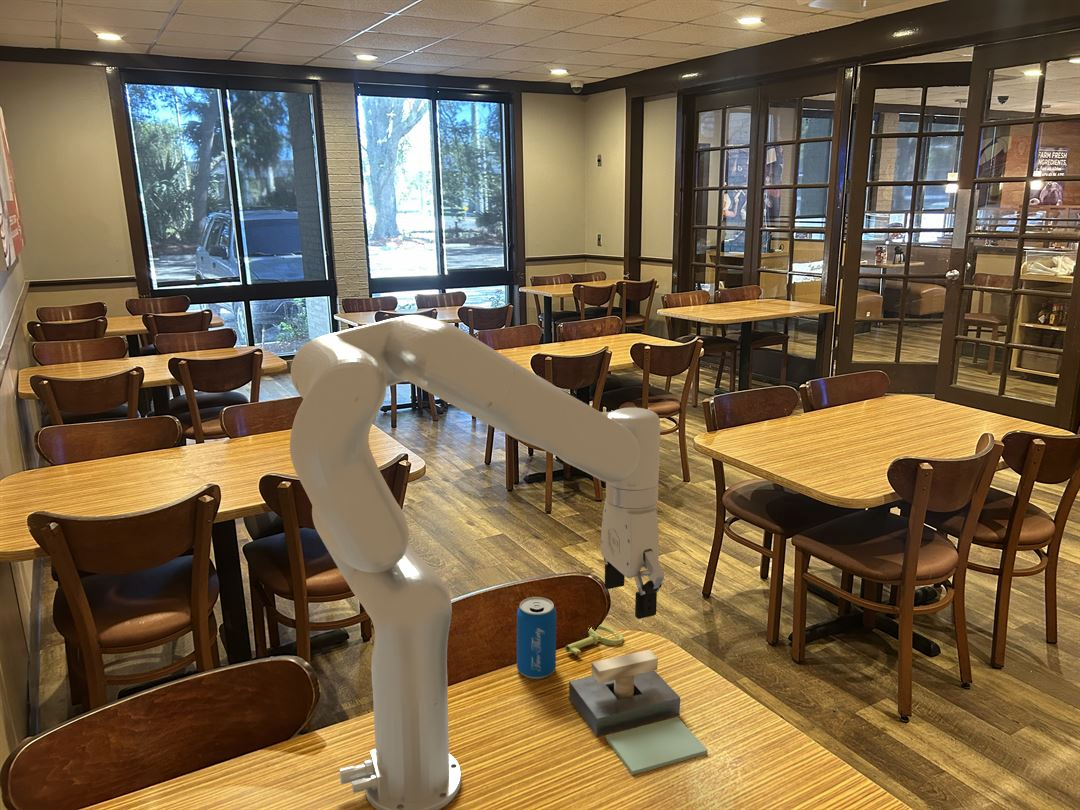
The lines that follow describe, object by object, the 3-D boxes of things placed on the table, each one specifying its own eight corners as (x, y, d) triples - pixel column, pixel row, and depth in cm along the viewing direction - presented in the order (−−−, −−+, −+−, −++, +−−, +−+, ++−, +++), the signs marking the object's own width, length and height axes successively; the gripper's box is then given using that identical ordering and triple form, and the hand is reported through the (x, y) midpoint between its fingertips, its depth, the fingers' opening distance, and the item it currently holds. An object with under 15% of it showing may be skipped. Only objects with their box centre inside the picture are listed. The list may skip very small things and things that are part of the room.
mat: (632, 775, 104) (632, 771, 104) (605, 739, 111) (605, 735, 111) (707, 753, 108) (707, 749, 108) (677, 720, 116) (677, 716, 116)
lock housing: (596, 736, 112) (597, 718, 111) (568, 698, 121) (569, 681, 120) (679, 715, 117) (680, 697, 116) (646, 679, 126) (647, 663, 125)
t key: (598, 719, 116) (599, 672, 114) (589, 708, 118) (591, 661, 117) (656, 704, 119) (658, 658, 118) (646, 694, 122) (648, 648, 120)
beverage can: (517, 681, 125) (517, 615, 122) (516, 660, 131) (516, 595, 129) (556, 681, 125) (557, 614, 123) (554, 659, 132) (555, 595, 129)
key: (562, 657, 133) (563, 646, 133) (594, 626, 143) (594, 616, 143) (600, 669, 129) (600, 658, 129) (629, 637, 140) (630, 626, 139)
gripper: (583, 478, 117) (582, 581, 121) (638, 518, 102) (635, 634, 106) (626, 472, 120) (624, 572, 124) (686, 510, 104) (682, 623, 109)
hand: (629, 601), depth 115 cm, fingers open, 9 cm apart
